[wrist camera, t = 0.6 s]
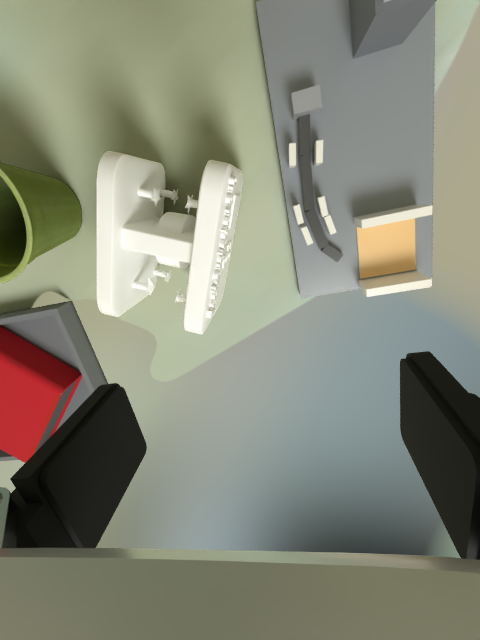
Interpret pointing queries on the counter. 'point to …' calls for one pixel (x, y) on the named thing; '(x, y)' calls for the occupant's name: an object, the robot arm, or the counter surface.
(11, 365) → the red device housing
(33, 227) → the plant pot
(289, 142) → the board
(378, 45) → the block
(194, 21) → the counter surface
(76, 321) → the tray
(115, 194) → the cable organizer
